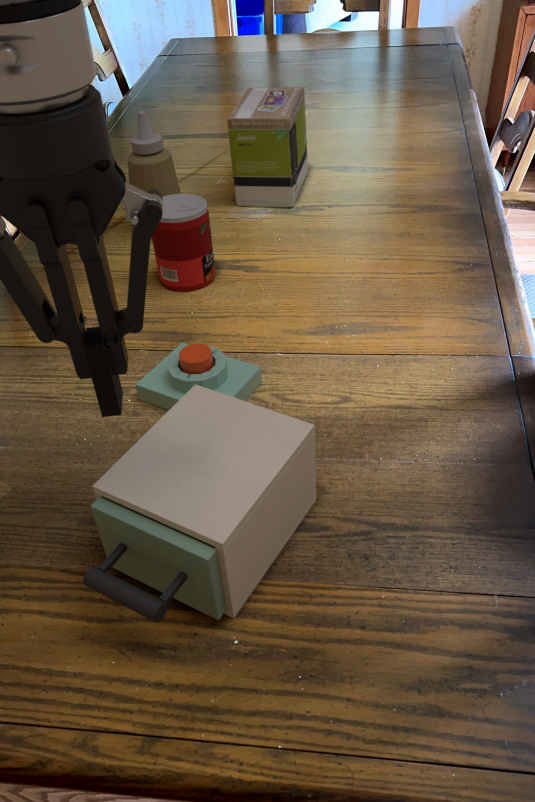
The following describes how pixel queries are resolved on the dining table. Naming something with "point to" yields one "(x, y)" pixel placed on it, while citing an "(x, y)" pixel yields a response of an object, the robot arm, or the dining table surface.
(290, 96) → the tea box
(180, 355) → the button
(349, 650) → the dining table surface
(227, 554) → the grey box-shaped casing
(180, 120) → the dining table surface
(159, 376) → the panel
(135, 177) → the squeeze bottle
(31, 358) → the dining table surface
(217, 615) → the drawer
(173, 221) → the canned food
